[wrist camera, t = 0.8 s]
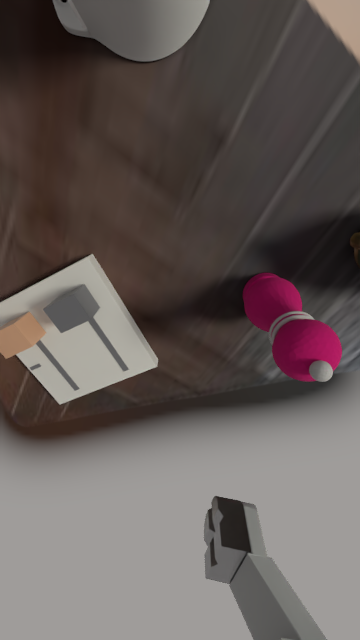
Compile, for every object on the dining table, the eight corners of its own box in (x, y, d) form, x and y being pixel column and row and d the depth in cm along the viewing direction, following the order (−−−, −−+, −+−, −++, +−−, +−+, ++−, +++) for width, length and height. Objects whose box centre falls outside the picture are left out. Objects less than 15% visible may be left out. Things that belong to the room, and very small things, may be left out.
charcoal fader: (56, 298, 38) (42, 309, 35) (84, 284, 37) (73, 294, 34) (72, 320, 40) (61, 333, 36) (100, 307, 39) (91, 319, 35)
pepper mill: (259, 323, 42) (312, 422, 24) (229, 292, 40) (262, 376, 22) (298, 293, 39) (389, 378, 21) (268, 258, 37) (342, 321, 19)
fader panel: (-12, 308, 42) (-21, 313, 40) (92, 253, 38) (87, 256, 36) (64, 396, 50) (59, 404, 48) (158, 359, 45) (156, 366, 44)
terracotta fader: (4, 324, 41) (-14, 337, 37) (29, 311, 40) (13, 323, 36) (21, 344, 42) (6, 358, 39) (46, 332, 41) (32, 346, 37)
